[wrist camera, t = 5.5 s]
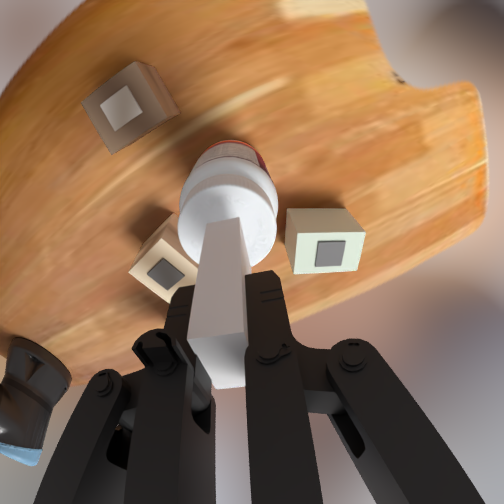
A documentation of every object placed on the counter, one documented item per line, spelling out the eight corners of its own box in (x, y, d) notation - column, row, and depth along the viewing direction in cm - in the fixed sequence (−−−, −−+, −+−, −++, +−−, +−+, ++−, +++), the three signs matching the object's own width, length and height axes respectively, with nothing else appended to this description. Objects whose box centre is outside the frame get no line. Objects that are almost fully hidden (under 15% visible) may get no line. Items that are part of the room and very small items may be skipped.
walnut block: (133, 142, 21) (110, 155, 17) (108, 99, 19) (79, 102, 14) (181, 112, 20) (166, 117, 16) (154, 66, 18) (133, 60, 13)
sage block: (284, 244, 28) (294, 275, 23) (286, 208, 26) (297, 234, 21) (339, 242, 28) (357, 271, 24) (345, 208, 26) (366, 233, 22)
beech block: (178, 272, 29) (169, 305, 25) (142, 243, 27) (127, 273, 22) (210, 245, 27) (206, 277, 23) (173, 212, 25) (161, 239, 21)
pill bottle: (261, 206, 25) (279, 283, 16) (195, 203, 25) (172, 279, 15) (268, 140, 22) (296, 179, 13) (196, 137, 22) (165, 173, 12)
